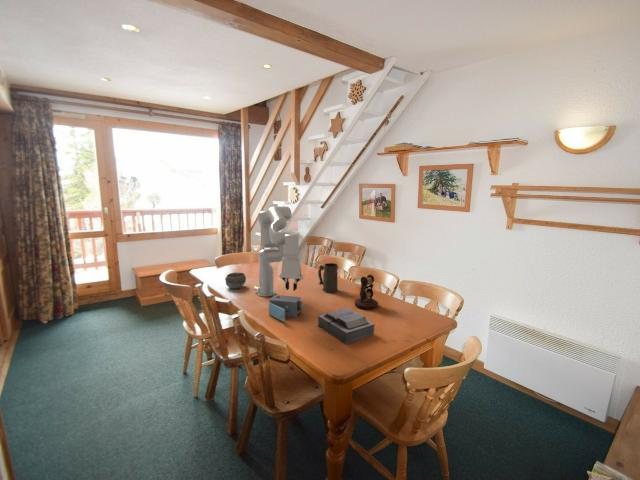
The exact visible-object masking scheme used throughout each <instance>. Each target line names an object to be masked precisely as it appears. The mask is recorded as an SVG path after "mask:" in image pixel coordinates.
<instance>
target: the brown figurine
mask: <svg viewBox="0 0 640 480" xmlns="http://www.w3.org/2000/svg"><path fill="white" fill-rule="evenodd" d="M374 282H375V277H374V276H373V275H372V274H369V275H367V276H361V278H360V284H361V285H360V290H359V297H358V298H356V299H354V306H357V307H359V308H364V309H366V310H369V309H373V308H376V307H378V305H379V302H378V301H377V300H375V299H374V298H373V296H374V291H373V288H374Z"/></svg>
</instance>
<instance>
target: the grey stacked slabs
mask: <svg viewBox="0 0 640 480" xmlns="http://www.w3.org/2000/svg"><path fill="white" fill-rule="evenodd" d="M317 320H318V324H317V327H318V328H320V329H322V330H323V331H324V332H326V333H327V332H328V333H327V334H329V335H330V336H332V337H333V338H335V339H337V340H338V341H340V342H341V343H343V344H346V345H349V344H352V343H356V342H358V341H360V340H363V339H367V338H369V337H372V336H374V335H375V334H374V332H375V326H376V325H375V323H373V322H371V321H369V320H368V319H366V315H363V314H362V313H360V312H355V311H353V310H350V309H348V308H346V307H344V308H342V309H340V310H336V311H332V312H331V311H330V312H327V313H324V314H319V315H318V316H317Z"/></svg>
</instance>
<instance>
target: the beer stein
mask: <svg viewBox="0 0 640 480" xmlns="http://www.w3.org/2000/svg"><path fill="white" fill-rule="evenodd" d="M338 268H339V266H338V264H337V263H332V262H328V263H325V264H324V266H323V265H322V264H321V265H319V269H318V273H317V275H318V276H317V277H318V279H319V283H318V284H319V285H320V286H321V285H322V287H323V288H322V291H323V292H324V293H328V294H334V293H338V282H339V281H338V273H339V272H338ZM322 270H323V274H322ZM322 275H323V276H322Z"/></svg>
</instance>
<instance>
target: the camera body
mask: <svg viewBox="0 0 640 480" xmlns="http://www.w3.org/2000/svg"><path fill="white" fill-rule="evenodd" d="M269 303H272V304H274V305H276V306H278V307H281V308H283V309H285V317H290V318H297V317H298V315H299V313H300V312H301V311H302V310H303V308H304V307H303V306H304V303H303V301H302V300H301V296H295V295H293V296H292V295H291V296H290V295H279V294H275V295H273V296H272V297H271V298H270V299H269Z"/></svg>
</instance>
